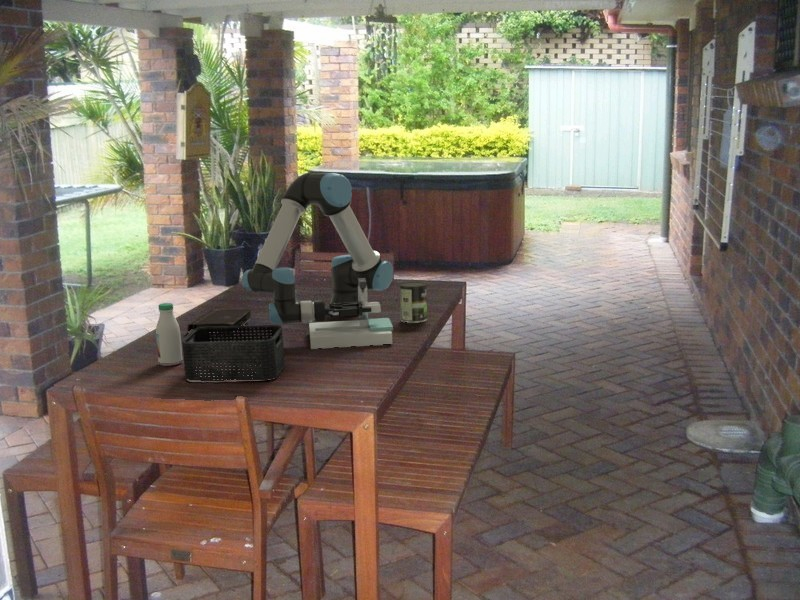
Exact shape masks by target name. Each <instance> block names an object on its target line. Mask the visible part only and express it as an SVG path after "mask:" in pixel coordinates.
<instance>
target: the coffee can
mask: <svg viewBox="0 0 800 600" xmlns="http://www.w3.org/2000/svg"><path fill="white" fill-rule="evenodd" d="M399 296H400V297H399V299H400V303H399V304H400V321H401V322H402V323H405V322H407V323H406V324H419V323H420V322H421V323H425V322H427V321H428V308H427V307H428V303H427V301H428V300H427V299H428V298H427V283H426V282H424V281H405V282H402V283H400V284H399Z"/></svg>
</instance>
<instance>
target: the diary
mask: <svg viewBox="0 0 800 600" xmlns="http://www.w3.org/2000/svg"><path fill="white" fill-rule="evenodd" d="M252 310H254V308H253V307H231V308H230V307H228V308H217V309H215V308H212V309H210V310H208V311H207V312H206V313H204V314H202V315H201V316H199V317H198V318H196V319H195V320H194V321H192V322H190V323H188V324H187V332H188V331H190V330H191V329H193V330H194V329H196V328H201V327H219V326H241V325H242V326H243V324H244V323H245V322H246V321H247V320H248V319H249V318H251V319H252V316H251V311H252ZM213 330H214V329H213ZM230 332H231V331H230Z"/></svg>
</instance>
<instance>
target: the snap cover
mask: <svg viewBox="0 0 800 600" xmlns="http://www.w3.org/2000/svg"><path fill="white" fill-rule="evenodd" d="M368 319H369V329H370V331H387V330H391V331H394V326H393V324H392V321H391V320H390V317H380V318H379V317H378V318H368Z"/></svg>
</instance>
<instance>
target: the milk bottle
mask: <svg viewBox="0 0 800 600" xmlns="http://www.w3.org/2000/svg"><path fill="white" fill-rule="evenodd" d="M158 312H159V315H158V317H159V318H158V320H157V323H156V327H155V338H156V340H155V341H156V351H157V361H158V362H160V363H175V362H179V361H181V360H183V346H182V337H181V336H182V335H181V330H180V324H179V322H178V321H177V319H176V317H175V315H174V303H172V302H163V303H159V304H158Z"/></svg>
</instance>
